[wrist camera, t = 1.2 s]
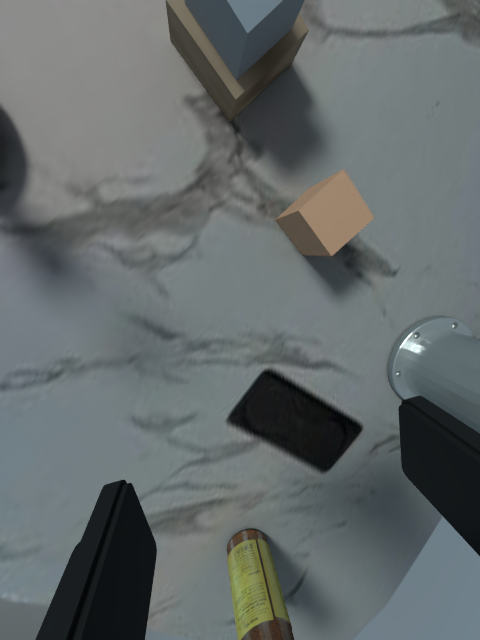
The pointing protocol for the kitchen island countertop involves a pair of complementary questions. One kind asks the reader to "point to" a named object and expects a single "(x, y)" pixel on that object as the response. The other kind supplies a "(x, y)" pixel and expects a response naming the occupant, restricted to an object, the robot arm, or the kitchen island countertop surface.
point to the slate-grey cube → (244, 27)
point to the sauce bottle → (256, 589)
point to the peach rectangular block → (326, 216)
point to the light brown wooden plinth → (214, 71)
